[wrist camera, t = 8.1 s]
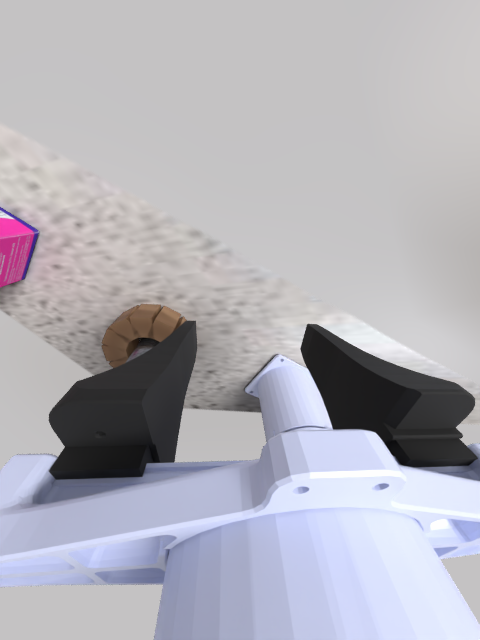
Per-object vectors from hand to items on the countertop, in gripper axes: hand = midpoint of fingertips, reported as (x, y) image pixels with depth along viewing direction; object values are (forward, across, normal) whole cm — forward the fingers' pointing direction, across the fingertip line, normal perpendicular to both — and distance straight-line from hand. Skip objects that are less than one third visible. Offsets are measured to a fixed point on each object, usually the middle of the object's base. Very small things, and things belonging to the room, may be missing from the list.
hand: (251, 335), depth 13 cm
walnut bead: (+9, +10, +7) cm, 15 cm away
